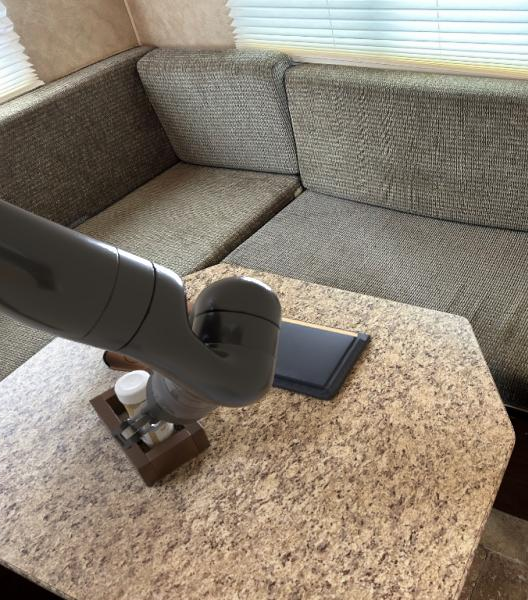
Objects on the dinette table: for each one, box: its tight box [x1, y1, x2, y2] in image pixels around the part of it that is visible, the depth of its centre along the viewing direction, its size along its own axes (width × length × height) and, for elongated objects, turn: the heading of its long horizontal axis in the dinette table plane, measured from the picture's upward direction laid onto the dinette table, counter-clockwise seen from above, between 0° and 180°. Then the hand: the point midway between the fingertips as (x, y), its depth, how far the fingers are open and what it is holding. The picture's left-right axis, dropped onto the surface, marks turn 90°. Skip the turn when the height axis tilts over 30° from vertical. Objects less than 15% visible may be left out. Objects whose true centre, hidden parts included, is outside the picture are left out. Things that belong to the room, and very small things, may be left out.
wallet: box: [272, 316, 372, 401], centre depth 98 cm, size 20×2×15 cm
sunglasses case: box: [102, 300, 194, 373], centre depth 105 cm, size 18×7×7 cm
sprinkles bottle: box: [114, 371, 178, 452], centre depth 82 cm, size 5×5×14 cm
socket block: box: [88, 367, 212, 488], centre depth 88 cm, size 10×17×4 cm, turn 42°
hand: (162, 409), depth 76 cm, fingers open, 8 cm apart
